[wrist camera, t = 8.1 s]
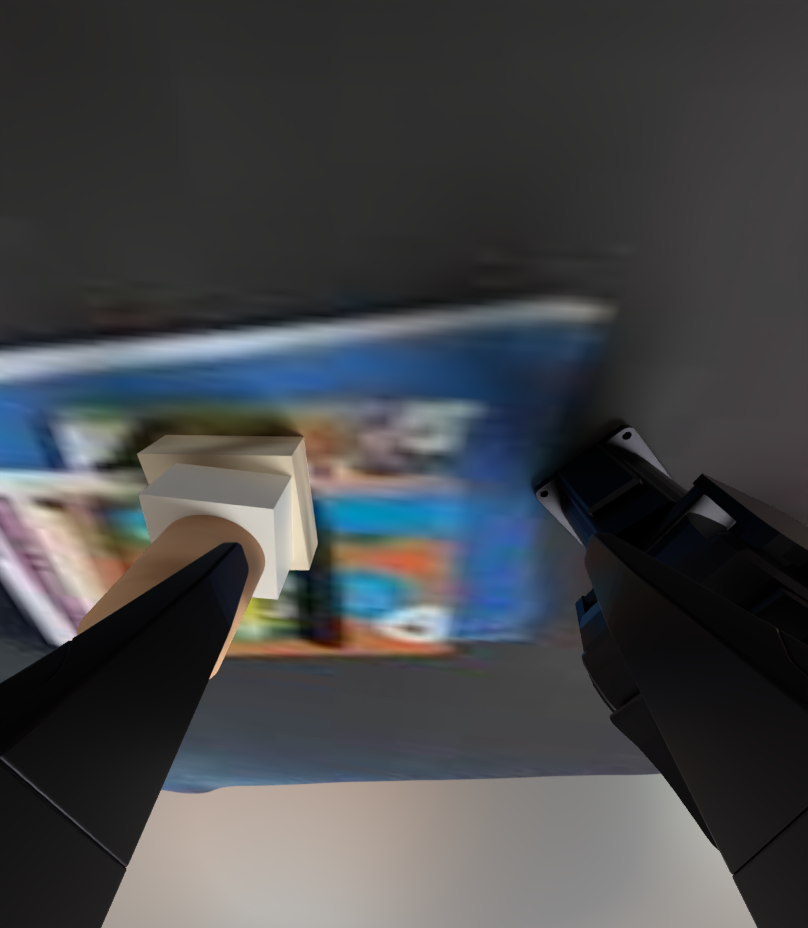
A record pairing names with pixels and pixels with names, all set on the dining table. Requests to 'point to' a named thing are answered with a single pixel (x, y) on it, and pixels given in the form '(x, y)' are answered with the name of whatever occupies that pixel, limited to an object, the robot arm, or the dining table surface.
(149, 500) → the white block
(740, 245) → the dining table surface
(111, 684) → the robot arm
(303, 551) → the birch slab
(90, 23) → the dining table surface
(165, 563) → the tan cylinder
